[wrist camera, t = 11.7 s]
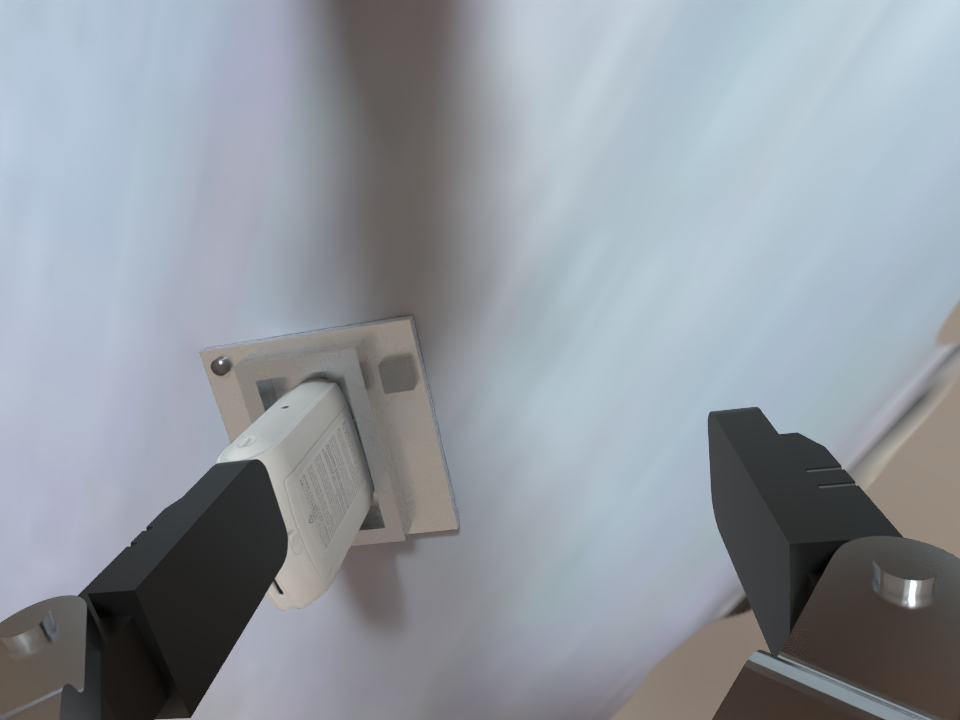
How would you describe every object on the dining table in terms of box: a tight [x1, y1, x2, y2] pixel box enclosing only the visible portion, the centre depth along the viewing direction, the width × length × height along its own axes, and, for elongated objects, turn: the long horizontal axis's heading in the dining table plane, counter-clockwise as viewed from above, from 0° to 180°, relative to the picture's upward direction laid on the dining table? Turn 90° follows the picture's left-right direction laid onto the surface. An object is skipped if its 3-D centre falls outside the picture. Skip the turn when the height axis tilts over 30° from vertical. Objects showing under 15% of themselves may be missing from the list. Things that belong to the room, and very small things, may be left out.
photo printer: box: [217, 378, 374, 610], centre depth 38 cm, size 10×4×12 cm, turn 13°
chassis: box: [199, 315, 459, 546], centre depth 43 cm, size 16×15×3 cm
